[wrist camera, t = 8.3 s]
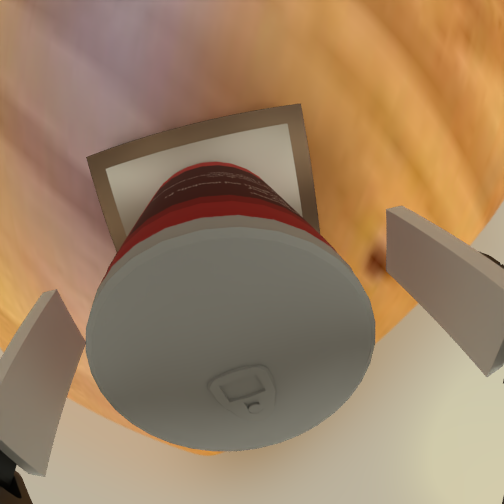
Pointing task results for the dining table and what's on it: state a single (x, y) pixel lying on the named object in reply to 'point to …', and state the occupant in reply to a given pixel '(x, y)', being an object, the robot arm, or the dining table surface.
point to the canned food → (227, 317)
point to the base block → (207, 150)
